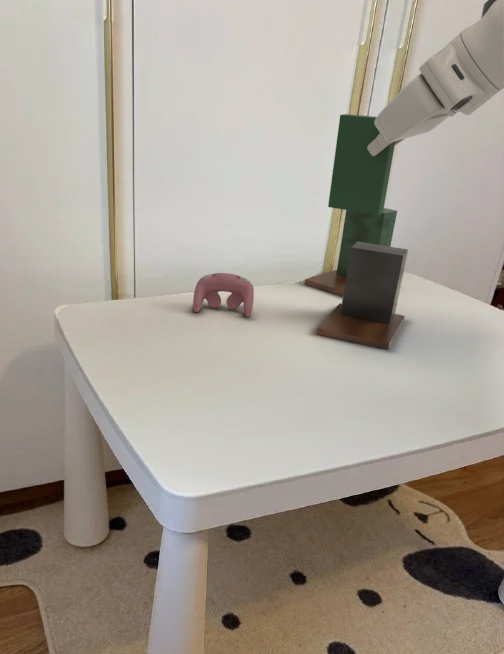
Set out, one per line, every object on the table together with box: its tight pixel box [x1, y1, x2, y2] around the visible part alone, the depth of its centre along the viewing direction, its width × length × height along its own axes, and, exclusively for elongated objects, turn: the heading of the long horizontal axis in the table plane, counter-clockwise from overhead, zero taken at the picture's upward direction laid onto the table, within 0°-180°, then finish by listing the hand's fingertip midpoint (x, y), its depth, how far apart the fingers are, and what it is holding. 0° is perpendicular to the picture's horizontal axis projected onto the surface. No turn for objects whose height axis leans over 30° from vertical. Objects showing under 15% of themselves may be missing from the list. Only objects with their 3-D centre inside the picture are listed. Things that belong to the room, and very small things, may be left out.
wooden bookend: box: [316, 242, 409, 350], centre depth 98 cm, size 11×14×12 cm
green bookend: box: [304, 207, 398, 297], centre depth 117 cm, size 11×14×14 cm
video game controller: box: [192, 272, 255, 317], centre depth 104 cm, size 10×5×7 cm, turn 83°
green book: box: [327, 113, 396, 215], centre depth 93 cm, size 8×2×13 cm, turn 57°
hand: (375, 150), depth 91 cm, fingers closed on green book, 2 cm apart
